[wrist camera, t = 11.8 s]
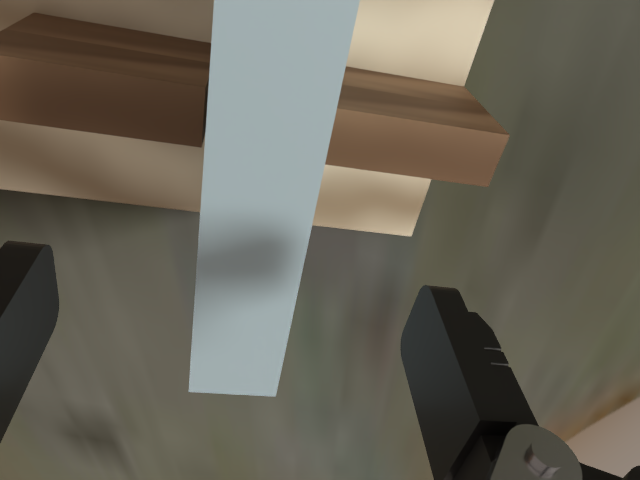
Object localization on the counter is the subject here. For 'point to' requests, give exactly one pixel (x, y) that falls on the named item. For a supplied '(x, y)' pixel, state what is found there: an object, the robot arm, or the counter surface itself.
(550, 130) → the counter surface
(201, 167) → the birch board
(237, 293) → the slotted cross plate
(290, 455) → the counter surface
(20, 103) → the walnut slotted plate
